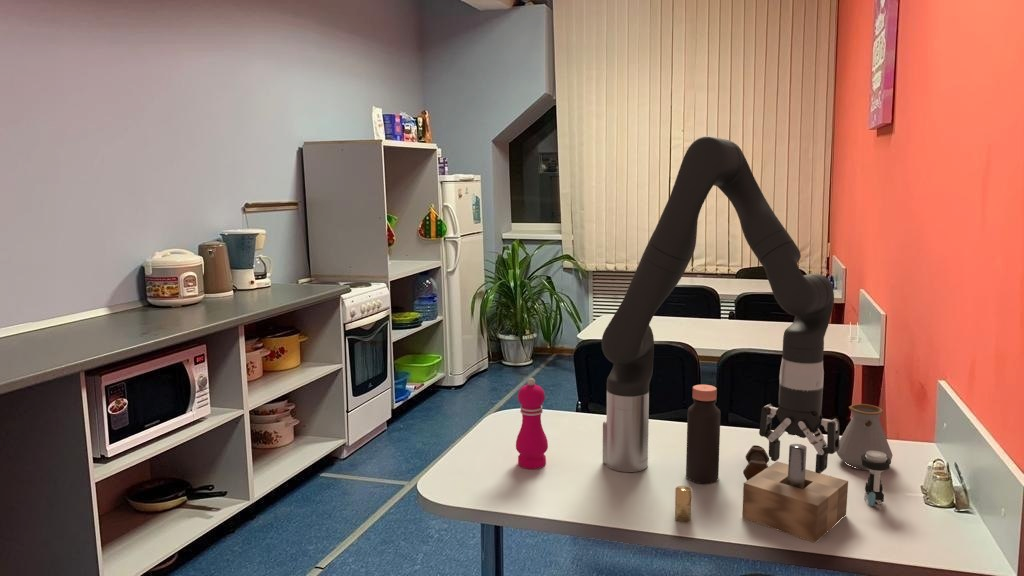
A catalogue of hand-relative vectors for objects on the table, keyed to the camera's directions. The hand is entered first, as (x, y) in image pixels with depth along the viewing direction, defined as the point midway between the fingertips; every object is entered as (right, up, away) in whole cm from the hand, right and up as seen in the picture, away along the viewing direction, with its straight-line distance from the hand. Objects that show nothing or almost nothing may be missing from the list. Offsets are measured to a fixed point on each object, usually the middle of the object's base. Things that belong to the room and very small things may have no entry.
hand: (796, 465), depth 141 cm
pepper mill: (-49, -7, +28) cm, 57 cm away
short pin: (-21, -10, +1) cm, 24 cm away
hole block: (0, -10, +2) cm, 10 cm away
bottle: (-13, -7, +20) cm, 25 cm away
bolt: (0, -7, +23) cm, 24 cm away
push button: (+18, -9, +7) cm, 21 cm away
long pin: (0, -10, +2) cm, 10 cm away
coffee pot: (+23, -7, +21) cm, 32 cm away
